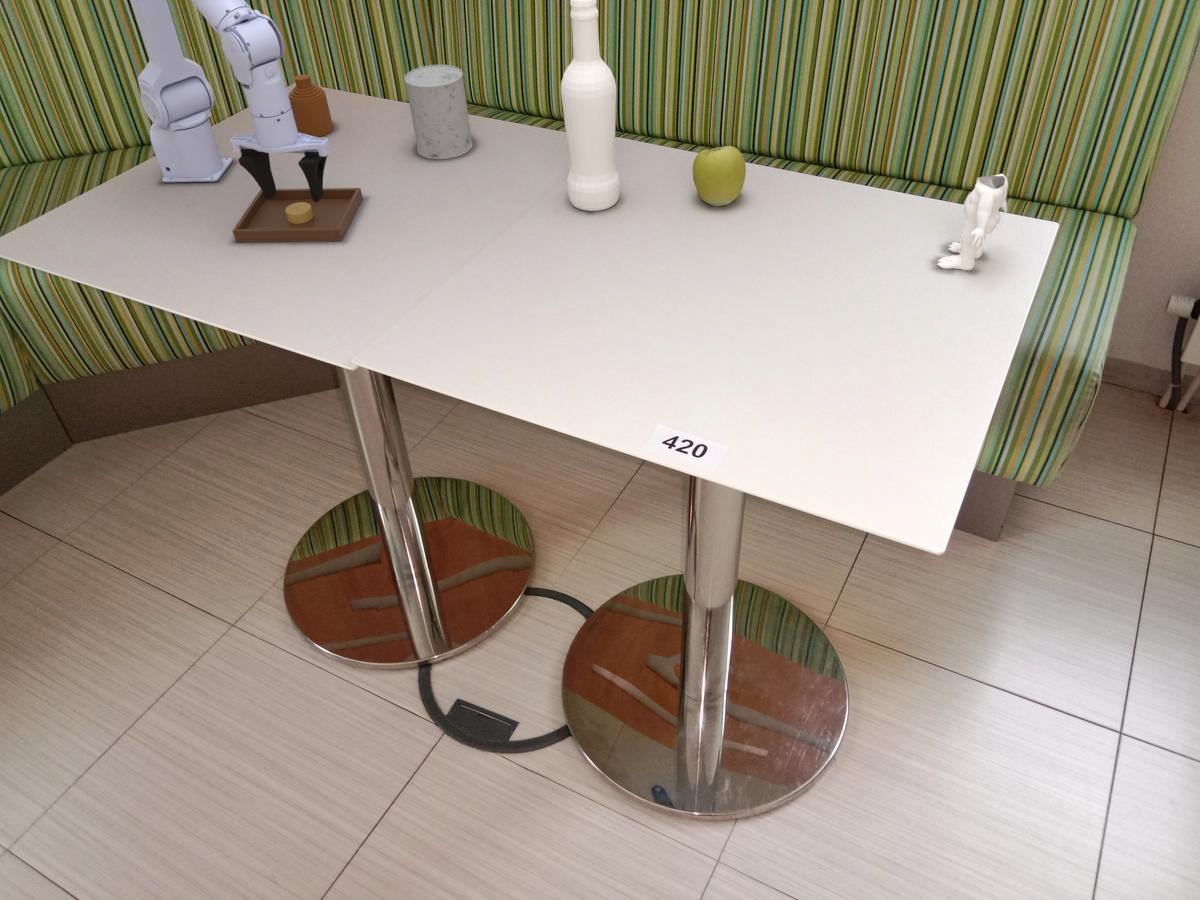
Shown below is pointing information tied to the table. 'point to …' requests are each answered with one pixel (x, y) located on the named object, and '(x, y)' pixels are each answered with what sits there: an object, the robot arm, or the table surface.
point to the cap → (299, 213)
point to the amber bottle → (310, 107)
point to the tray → (327, 224)
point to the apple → (719, 175)
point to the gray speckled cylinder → (439, 111)
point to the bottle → (589, 115)
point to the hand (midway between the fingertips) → (295, 197)
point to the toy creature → (978, 221)
